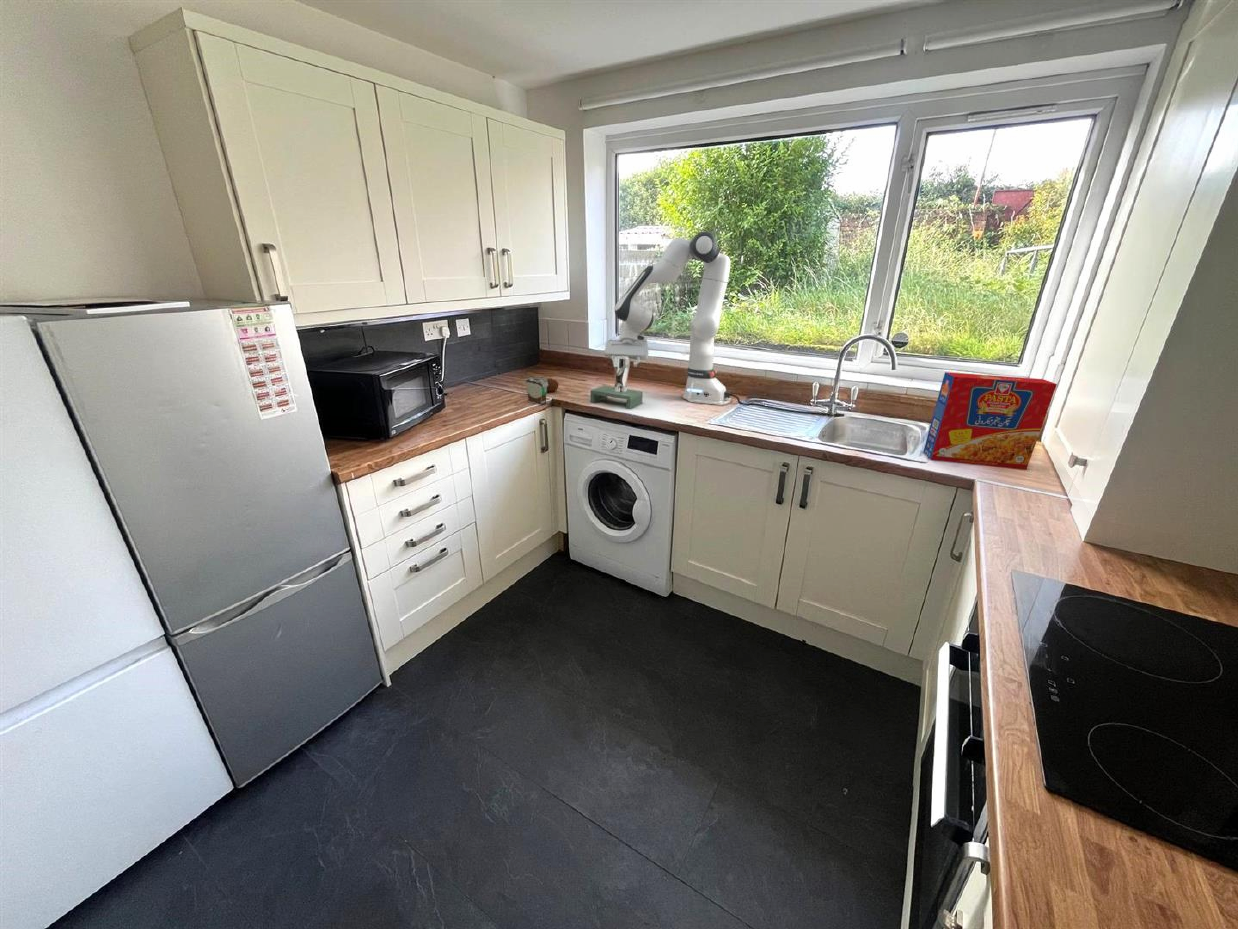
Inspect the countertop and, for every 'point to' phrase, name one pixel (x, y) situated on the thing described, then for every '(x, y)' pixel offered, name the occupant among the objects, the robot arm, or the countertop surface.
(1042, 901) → the countertop surface
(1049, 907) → the countertop surface
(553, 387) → the potato
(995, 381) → the pasta box
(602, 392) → the shelf
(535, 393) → the food container
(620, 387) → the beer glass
